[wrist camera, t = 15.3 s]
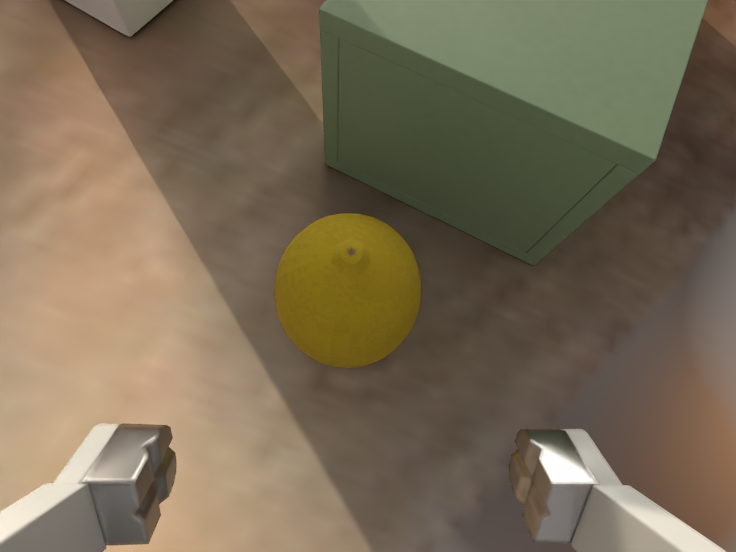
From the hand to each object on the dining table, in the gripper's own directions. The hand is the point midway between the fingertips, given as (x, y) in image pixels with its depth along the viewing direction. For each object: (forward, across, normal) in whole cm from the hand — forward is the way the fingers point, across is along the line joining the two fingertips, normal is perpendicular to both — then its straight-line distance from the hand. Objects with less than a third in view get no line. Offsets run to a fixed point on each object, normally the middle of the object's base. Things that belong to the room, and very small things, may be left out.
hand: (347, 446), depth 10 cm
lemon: (+10, 0, -3) cm, 11 cm away
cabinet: (+19, +8, +6) cm, 21 cm away
